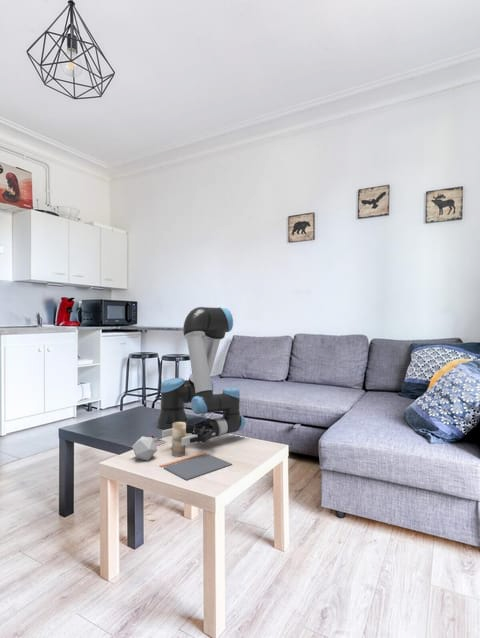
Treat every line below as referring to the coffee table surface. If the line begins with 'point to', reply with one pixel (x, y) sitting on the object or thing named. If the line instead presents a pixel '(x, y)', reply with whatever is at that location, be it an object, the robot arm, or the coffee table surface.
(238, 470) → the coffee table surface
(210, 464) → the mat
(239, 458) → the coffee table surface
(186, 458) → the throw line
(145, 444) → the die
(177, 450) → the beige banded cylinder
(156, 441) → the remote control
